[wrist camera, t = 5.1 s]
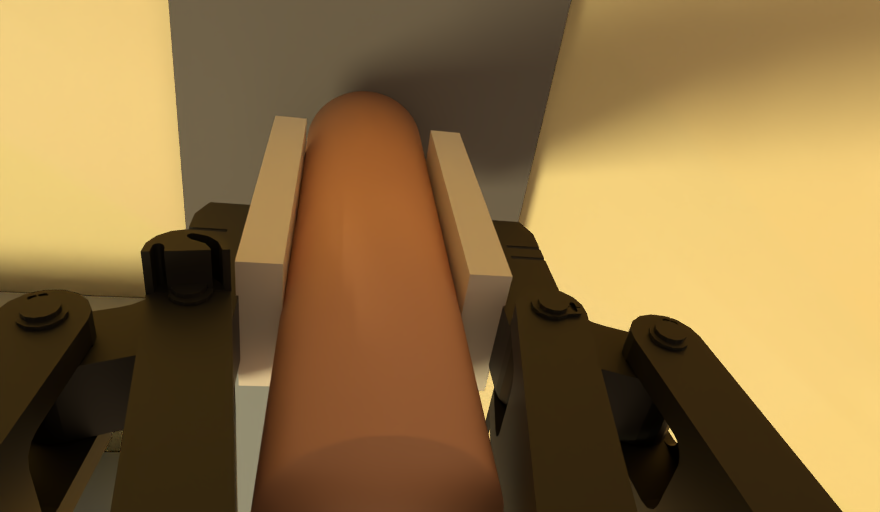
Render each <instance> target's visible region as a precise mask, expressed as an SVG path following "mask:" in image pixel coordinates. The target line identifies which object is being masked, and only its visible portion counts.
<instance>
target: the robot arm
mask: <svg viewBox="0 0 880 512" xmlns="http://www.w3.org/2000/svg"><path fill="white" fill-rule="evenodd" d="M306 126H307V119H306V118H295V117H284V116H275V119H274V123H273V126H272V130H271V133H270V137H269V141H268V144H267V148H266V151H265V155H264V158H263V162H262V166H261V169H260V173H259V176H258V180H257V184H256V187H255V191H254V194H253V198H252V201H251V205H246V204H232V203H217V202H210V203H208V204H207V205H205V206H204V207H203V208H201V209H200V210H199V211H197V212H196V213H195V214H194V216H193V219H192V221H191V223H190V226H189V229H186V230H177V231H170V232H167V233H164V234H161V235H158V236H156V237H154V238H153V239H151V240H150V241H148V242H146V243H145V245H144V247H143V249H142V250H141V258H142V266H143V274H144V282H145V290H146V297H145V300H142V301H140V302H137V303H134V304H131V305H127V306H122V307H117V308H110V309H104V310H97V311H92V308H91V306H90V303H89V301H88V299H86V298H85V297H83V296H81V295H80V294H78V293H75V292H70V291H66V290H42V291H38V292H33V293H28V294H24V295H22V296H20V297H17V298H15V299H13V300H10V301H8V302H7V303H6V304H4V305H3V306H2V307H0V512H73V511H74V509H75V507H76V505H77V503H78V501H79V499H80V497H81V495H82V493H83V491H84V489H85V487H86V485H87V483H88V482H89V480H90V478H91V476H92V474H93V472H94V470H95V468H96V466H97V464H98V462H99V460H100V458H101V456H102V454H103V452H104V451H105V449H106V447H107V445H108V443H109V441H110V439H111V435H112V432H115V431H119V430H124V431H123V437H122V443H121V449H120V455H119V461H118V467H117V473H116V479H115V485H114V491H113V498H112V504H111V510H110V512H238V497H237V446H236V399H235V382H236V378H237V373H238V380H239V386H270V380H271V374H272V367H273V360H274V354H275V347H276V341H277V334H278V327H279V321H280V316H281V313H282V308H283V302H284V295H285V288H286V282H287V275H288V268H289V261H290V255H291V248H292V241H293V235H294V228H295V221H296V214H297V208H298V201H299V194H300V188H301V181H302V174H303V167H304V161H305V154H306ZM426 165H427V169H428V174H429V178H430V182H431V187H432V191H433V195H434V200H435V204H436V208H437V213H438V217H439V221H440V226H441V230H442V234H443V239H444V243H445V247H446V252H447V256H448V260H449V265H450V269H451V273H452V278H453V282H454V287H455V291H456V295H457V300H458V304H459V308H460V313H461V317H462V321H463V326H464V330H465V334H466V339H467V343H468V347H469V352H470V356H471V360H472V365H473V369H474V373H475V378H476V382H477V386H478V391H485V387H486V383H487V379H488V374H489V370H490V373H491V376H492V380H493V384H494V390H493V394H492V398H491V402H490V406H489V410H488V414H487V418H486V426H487V430H488V433H489V430H490V443H491V447H492V452H493V456H494V460H495V465H496V469H497V473H498V478H499V482H500V486H501V491H502V496H503V501H504V507H503V512H842V511H841V509H840V508H839V507H838V506H837V504H836V503H835V502H834V501H833V499H832V498H831V497H830V496H829V495H828V493H827V492H826V491H825V490H824V488H823V487H822V486H821V485H820V483H819V482H818V481H817V480H816V479H815V477H814V476H813V475H812V474H811V472H810V471H809V470H808V469H807V468H806V466H805V465H804V464H803V463H802V461H801V460H800V459H799V458H798V456H797V455H796V454H795V453H794V452H793V450H792V449H791V448H790V447H789V445H788V444H787V443H786V442H785V441H784V439H783V438H782V437H781V436H780V434H779V433H778V432H777V431H776V429H775V428H774V427H773V426H772V425H771V423H770V422H769V421H768V420H767V418H766V417H765V416H764V415H763V414H762V412H761V411H760V410H759V409H758V407H757V406H756V405H755V404H754V402H753V401H752V400H751V399H750V398H749V396H748V395H747V394H746V393H745V391H744V390H743V389H742V388H741V386H740V385H739V384H738V383H737V382H736V380H735V379H734V378H733V377H732V375H731V374H730V373H729V372H728V371H727V369H726V368H725V367H724V366H723V364H722V363H721V362H720V361H719V359H718V358H717V357H716V356H715V355H714V353H713V352H712V351H711V350H710V348H709V347H708V346H707V345H706V344H705V342H704V341H703V340H702V339H701V337H700V336H699V335H698V334H696V333H695V332H694V331H693V330H692V329H691V328H690V327H688V326H686V325H684V324H683V323H681V322H679V321H678V320H675V319H672V318H669V317H665V316H659V315H651V314H650V315H644V316H639V317H638V318H636V319H635V320H634V321H633V322H632V324H631V327H630V329H629V332H626V331H622V330H618V329H614V328H610V327H606V326H603V325H600V324H596V323H593V322H591V321H589V320H588V316H587V313H586V311H585V309H584V308H583V306H582V305H581V304H580V303H579V302H578V301H577V300H575V299H574V298H573V297H571V296H569V295H567V294H565V293H563V292H561V291H559V290H558V287H557V285H556V283H555V281H554V279H553V277H552V274H551V272H550V270H549V268H548V266H547V264H546V261H544V257H543V255H542V253H541V251H540V250H539V246H538V244H537V242H536V240H535V238H534V235H533V234H532V233H531V232H530V231H529V230H528V229H526V228H525V227H524V226H523V225H522V224H521V223H520V222H512V221H498V220H491V217H490V214H489V211H488V209H487V206H486V203H485V201H484V198H483V195H482V193H481V190H480V187H479V184H478V182H477V179H476V176H475V174H474V171H473V168H472V165H471V163H470V160H469V157H468V155H467V152H466V149H465V146H464V144H463V141H462V138H461V136H460V133H455V132H444V131H434V130H431V132H430V139H429V146H428V153H427V160H426ZM669 428H670V429H671V430H672V432H673V433H674V435H675V437H676V439H677V442H678V443H676V442H675V440H674V439H673V438H672V436H671V435H670V433H669V432H668V430H669Z"/></svg>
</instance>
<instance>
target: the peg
mask: <svg viewBox="0 0 880 512" xmlns="http://www.w3.org/2000/svg"><path fill="white" fill-rule="evenodd" d="M503 507H504V501H503V496H502V491H501V486H500V482H499V478H498V473H497V469H496V465H495V460H494V456H493V452H492V447H491V443H490V439H489V434H488V430H487V426H486V421H485V417H484V413H483V408H482V404H481V400H480V395H479V391H478V386H477V382H476V378H475V373H474V369H473V365H472V360H471V356H470V352H469V347H468V343H467V339H466V334H465V330H464V326H463V321H462V317H461V313H460V308H459V304H458V300H457V295H456V291H455V287H454V282H453V278H452V273H451V269H450V265H449V260H448V256H447V252H446V247H445V243H444V239H443V234H442V230H441V226H440V221H439V217H438V213H437V208H436V204H435V200H434V195H433V191H432V187H431V182H430V178H429V174H428V169H427V165H426V160H425V156H424V152H423V147H422V143H421V139H420V134H419V130H418V128H417V125H416V123H415V121H414V119H413V117H412V116H411V115H410V113H409V112H408V111H407V110H406V109H405V108H404V107H403V106H402V105H401V104H400V103H398V102H397V101H395V100H394V99H392V98H390V97H388V96H385V95H383V94H379V93H375V92H370V91H358V92H351V93H346V94H343V95H341V96H338V97H336V98H334V99H332V100H331V101H330V102H328V103H327V104H325V105H324V106H323V107H322V108H321V109H320V110H319V112H318V113H317V114H316V116H315V117H314V119H313V121H312V123H311V125H310V128H309V132H308V136H307V143H306V154H305V161H304V167H303V174H302V181H301V188H300V194H299V201H298V208H297V214H296V221H295V228H294V235H293V241H292V248H291V255H290V261H289V268H288V275H287V282H286V288H285V295H284V302H283V308H282V313H281V316H280V321H279V327H278V334H277V341H276V347H275V354H274V360H273V367H272V374H271V380H270V387H269V393H268V400H267V407H266V413H265V420H264V426H263V433H262V440H261V446H260V453H259V459H258V466H257V473H256V479H255V486H254V492H253V499H252V506H251V512H503Z"/></svg>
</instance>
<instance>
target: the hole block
mask: <svg viewBox="0 0 880 512" xmlns="http://www.w3.org/2000/svg"><path fill="white" fill-rule="evenodd" d="M24 294H28V293H16V292H0V307H2V306H3V305H4V304H6V303H7V302H8V301H10V300H13V299H15V298H17V297H20V296H22V295H24ZM81 296H83V297H85V298H86V299H88V301H89V303H90V306H91V308H92V311H97V310H104V309H110V308H117V307H122V306H127V305H131V304H134V303H137V302H140V301H142V300H145V298H130V297H107V296H84V295H81ZM269 387H270V386H239V380H238V373H237V378H236V382H235V399H236V446H237V497H238V512H251V506H252V499H253V492H254V486H255V479H256V473H257V466H258V459H259V453H260V446H261V440H262V433H263V426H264V420H265V413H266V407H267V400H268V393H269ZM119 455H120V452H103V454H102V456H101V458H100V460H99V462H98V464H97V466H96V468H95V470H94V472H93V474H92V476H91V478H90V480H89V482H88V483H87V485H86V487H85V489H84V491H83V493H82V495H81V497H80V499H79V501H78V503H77V505H76V507H75V509H74V511H73V512H110V510H111V504H112V498H113V491H114V485H115V479H116V473H117V467H118V461H119Z"/></svg>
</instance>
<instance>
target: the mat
mask: <svg viewBox="0 0 880 512" xmlns="http://www.w3.org/2000/svg"><path fill="white" fill-rule="evenodd" d="M168 1H169V14H170V27H171V40H172V53H173V66H174V79H175V92H176V105H177V118H178V131H179V144H180V157H181V170H182V183H183V196H184V209H185V221H186V229H189V226H190V223H191V221H192V219H193V216H194V214H195V213H196V212H197V211H199V210H200V209H201V208H203V207H204V206H205V205H207V204H208V203H210V202H217V203H232V204H246V205H251V201H252V198H253V194H254V191H255V187H256V184H257V180H258V176H259V173H260V169H261V166H262V162H263V158H264V155H265V151H266V148H267V144H268V141H269V137H270V133H271V130H272V126H273V123H274V119H275V116H284V117H295V118H306V119H307V126H306V143H307V136H308V132H309V128H310V125H311V123H312V121H313V119H314V117H315V116H316V114H317V113H318V112H319V110H320V109H321V108H322V107H323V106H324V105H325V104H327V103H328V102H330V101H331V100H332V99H334V98H336V97H338V96H341V95H343V94H346V93H351V92H358V91H370V92H375V93H379V94H383V95H385V96H388V97H390V98H392V99H394V100H395V101H397V102H398V103H400V104H401V105H402V106H403V107H404V108H405V109H406V110H407V111H408V112H409V113H410V115H411V116H412V117H413V119H414V121H415V123H416V125H417V128H418V130H419V134H420V139H421V143H422V147H423V152H424V156H425V160H427V153H428V146H429V139H430V132H431V130H434V131H444V132H455V133H460V136H461V138H462V141H463V144H464V146H465V149H466V152H467V155H468V157H469V160H470V163H471V165H472V168H473V171H474V174H475V176H476V179H477V182H478V184H479V187H480V190H481V193H482V195H483V198H484V201H485V203H486V206H487V209H488V211H489V214H490V217H491V220H498V221H512V222H518V221H519V217H520V213H521V209H522V205H523V200H524V196H525V192H526V188H527V184H528V180H529V175H530V171H531V167H532V163H533V159H534V154H535V150H536V146H537V142H538V138H539V133H540V129H541V125H542V121H543V117H544V113H545V108H546V104H547V100H548V96H549V92H550V87H551V83H552V79H553V75H554V71H555V66H556V62H557V58H558V54H559V50H560V46H561V41H562V37H563V33H564V29H565V25H566V20H567V16H568V12H569V8H570V4H571V0H168Z"/></svg>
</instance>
